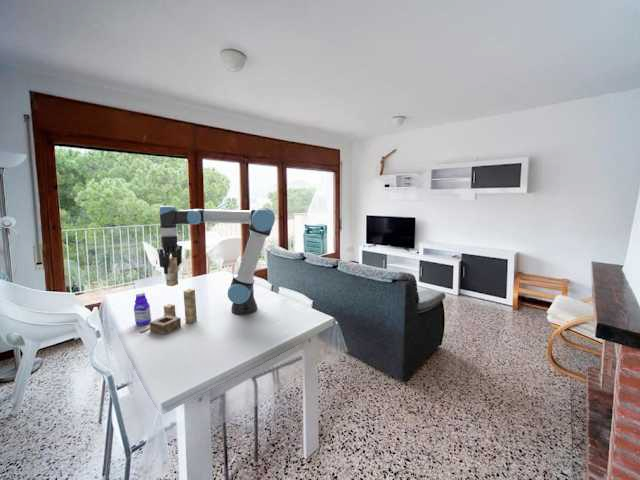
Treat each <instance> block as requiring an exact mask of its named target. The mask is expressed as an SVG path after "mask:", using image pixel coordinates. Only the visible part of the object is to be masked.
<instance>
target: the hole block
mask: <svg viewBox="0 0 640 480" xmlns="http://www.w3.org/2000/svg"><path fill="white" fill-rule="evenodd" d="M149 327H150V332H151V333H153V334H154V333H155V334H158V335H163V336H165V335H168V334H170V333H172V332H174V331H176V330H177V329H179V328H182V322H181V317H177V316H176V317H173V316H169V315H166V316H164V315H163V316H161V317H159V318H157V319H154V320H151V321H150V323H149Z"/></svg>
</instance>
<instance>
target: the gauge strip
mask: <svg viewBox="0 0 640 480" xmlns="http://www.w3.org/2000/svg"><path fill="white" fill-rule="evenodd" d="M149 330H150V326H149V327H148V328H147V327H146V328H144V329H143V330H141V331H139V333H141V334H143V333H145V332H147V331H149Z"/></svg>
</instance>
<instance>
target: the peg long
mask: <svg viewBox="0 0 640 480" xmlns="http://www.w3.org/2000/svg"><path fill="white" fill-rule="evenodd" d="M196 300H197V299H196V290H195V289H193V288H192V289H191V288H188V289H186V290H183V303H184V315H185V323H186V324H193V323H196V322H198V317H197V302H196Z"/></svg>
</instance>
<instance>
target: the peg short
mask: <svg viewBox="0 0 640 480" xmlns="http://www.w3.org/2000/svg"><path fill="white" fill-rule="evenodd" d="M163 313H164V315H163V316H166V315H169V316H173V317H177V314H176V305H175V304H171V303H168V304H166V305H164V306H163Z"/></svg>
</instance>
